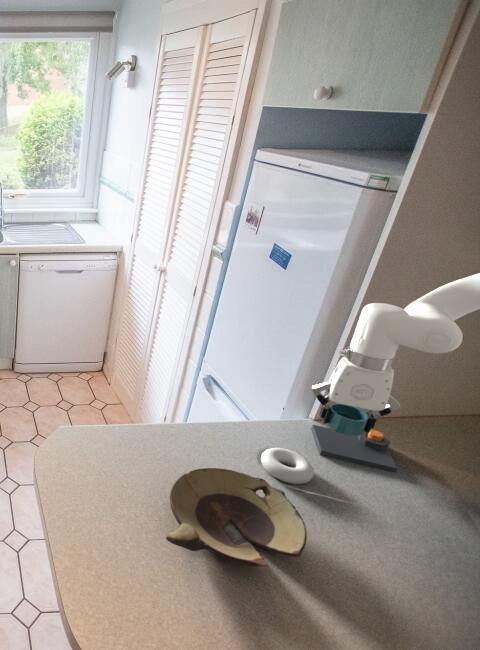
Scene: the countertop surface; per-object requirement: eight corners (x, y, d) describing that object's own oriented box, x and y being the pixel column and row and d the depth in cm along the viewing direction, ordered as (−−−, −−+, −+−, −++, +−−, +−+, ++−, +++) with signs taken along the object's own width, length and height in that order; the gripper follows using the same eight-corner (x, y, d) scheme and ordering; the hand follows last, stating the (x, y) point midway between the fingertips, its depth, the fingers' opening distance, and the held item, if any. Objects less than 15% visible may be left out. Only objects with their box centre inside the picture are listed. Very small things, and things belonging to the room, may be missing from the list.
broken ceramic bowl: (335, 570, 80) (348, 539, 77) (175, 592, 77) (182, 561, 74) (247, 479, 100) (255, 451, 98) (119, 493, 97) (122, 465, 94)
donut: (275, 451, 109) (249, 464, 105) (279, 439, 108) (253, 452, 103) (321, 478, 101) (295, 493, 96) (325, 465, 99) (299, 480, 95)
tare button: (379, 436, 109) (381, 431, 108) (382, 443, 107) (385, 437, 106) (365, 433, 110) (367, 428, 109) (368, 440, 108) (370, 434, 107)
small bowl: (357, 423, 108) (363, 407, 106) (366, 440, 102) (372, 424, 101) (321, 415, 111) (326, 400, 109) (327, 432, 105) (333, 416, 104)
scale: (381, 443, 110) (385, 433, 109) (397, 473, 101) (401, 463, 100) (310, 428, 116) (314, 418, 115) (319, 455, 107) (323, 445, 106)
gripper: (323, 358, 100) (302, 423, 107) (427, 375, 93) (397, 444, 100) (317, 344, 106) (297, 407, 113) (413, 359, 99) (386, 425, 106)
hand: (344, 424), depth 106 cm, fingers closed on small bowl, 7 cm apart
